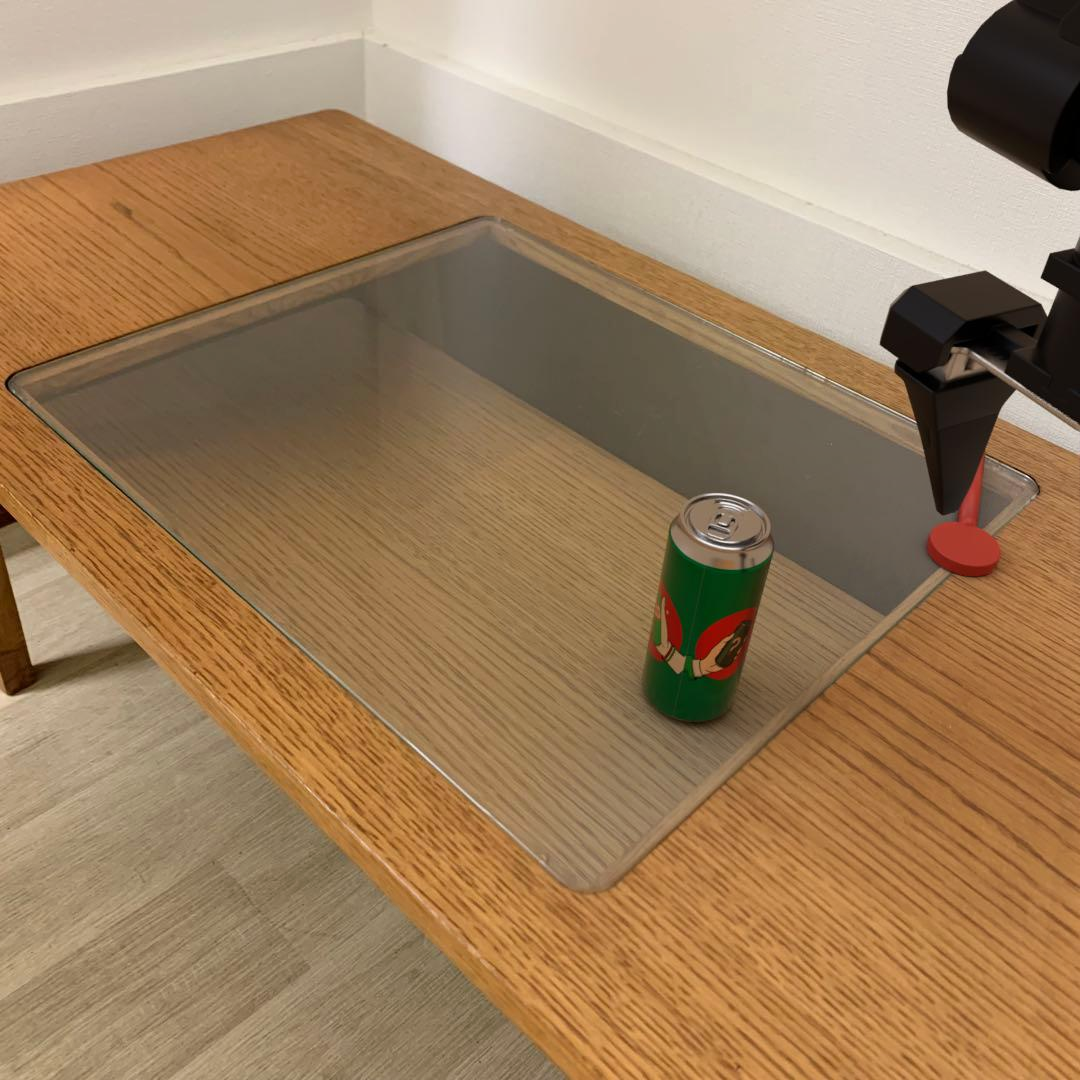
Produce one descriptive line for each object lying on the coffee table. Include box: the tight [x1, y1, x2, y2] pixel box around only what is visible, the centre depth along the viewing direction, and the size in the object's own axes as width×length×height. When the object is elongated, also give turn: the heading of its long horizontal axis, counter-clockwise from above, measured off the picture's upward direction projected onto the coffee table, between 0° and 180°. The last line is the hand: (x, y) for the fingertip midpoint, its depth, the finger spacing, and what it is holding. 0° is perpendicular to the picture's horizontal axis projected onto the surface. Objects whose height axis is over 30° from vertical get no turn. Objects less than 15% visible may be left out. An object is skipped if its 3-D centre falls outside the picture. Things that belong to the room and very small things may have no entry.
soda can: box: [641, 492, 775, 723], centre depth 57 cm, size 5×5×12 cm
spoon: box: [926, 449, 1002, 577], centre depth 75 cm, size 14×4×1 cm, turn 159°
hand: (1019, 571), depth 50 cm, fingers open, 9 cm apart
